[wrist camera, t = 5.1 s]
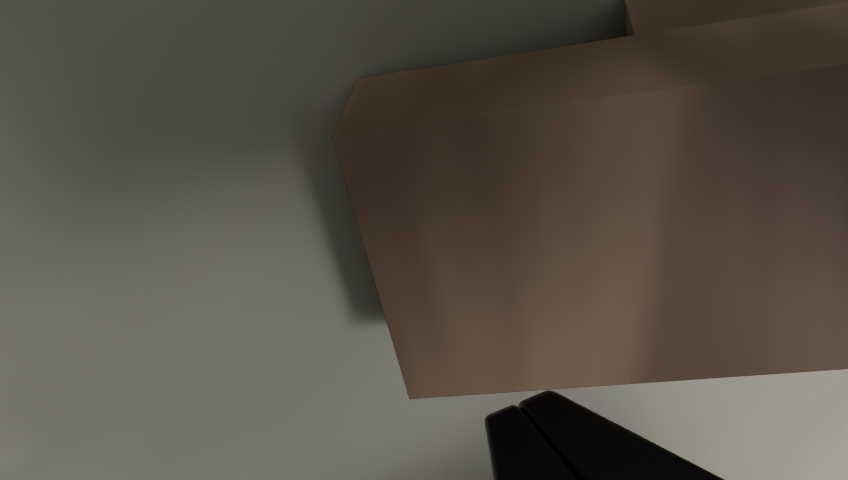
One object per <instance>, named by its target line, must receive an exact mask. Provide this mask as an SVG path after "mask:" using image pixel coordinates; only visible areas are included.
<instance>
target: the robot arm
mask: <svg viewBox="0 0 848 480" xmlns="http://www.w3.org/2000/svg"><path fill="white" fill-rule="evenodd" d="M485 427H486V433H487V439H488V446H489V452H490V458H491V464H492V470H493V476H494V480H724V479H722V478H720V477H718V476H716V475H714V474H712V473H710V472H708V471H706V470H704V469H703V468H701V467H699V466H697V465H695V464H693V463H691V462H689V461H687V460H685V459H683V458H681V457H679V456H677V455H676V454H674V453H672V452H670V451H668V450H666V449H664V448H662V447H660V446H658V445H656V444H654V443H652V442H650V441H649V440H647V439H645V438H643V437H641V436H639V435H637V434H635V433H633V432H631V431H629V430H627V429H625V428H623V427H622V426H620V425H618V424H616V423H614V422H612V421H610V420H608V419H606V418H604V417H602V416H600V415H598V414H596V413H595V412H593V411H591V410H589V409H587V408H585V407H583V406H581V405H579V404H577V403H575V402H573V401H571V400H569V399H568V398H566V397H564V396H562V395H560V394H558V393H556V392H553V391H545V392H542V393H540V394H537V395H535V396H533V397H530V398H528V399H525V400H523V401H522V402H520V404H519V406H518V407H517V406H515V405H512V406H509V407H506V408H504V409H502V410H499V411H497V412H495V413H492V414H490V415H488V416H487V417H486V418H485Z"/></svg>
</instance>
